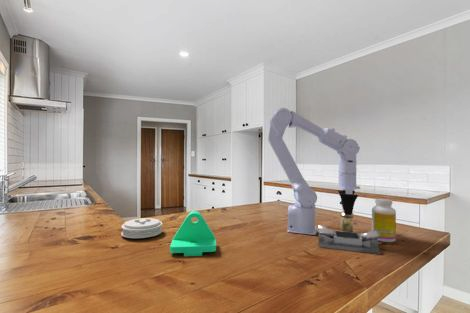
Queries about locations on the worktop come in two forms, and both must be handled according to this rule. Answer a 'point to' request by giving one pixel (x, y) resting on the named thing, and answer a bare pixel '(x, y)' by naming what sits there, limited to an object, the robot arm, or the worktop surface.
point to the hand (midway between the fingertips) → (347, 212)
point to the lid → (141, 228)
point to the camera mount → (193, 237)
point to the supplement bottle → (384, 220)
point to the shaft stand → (349, 240)
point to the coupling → (346, 222)
